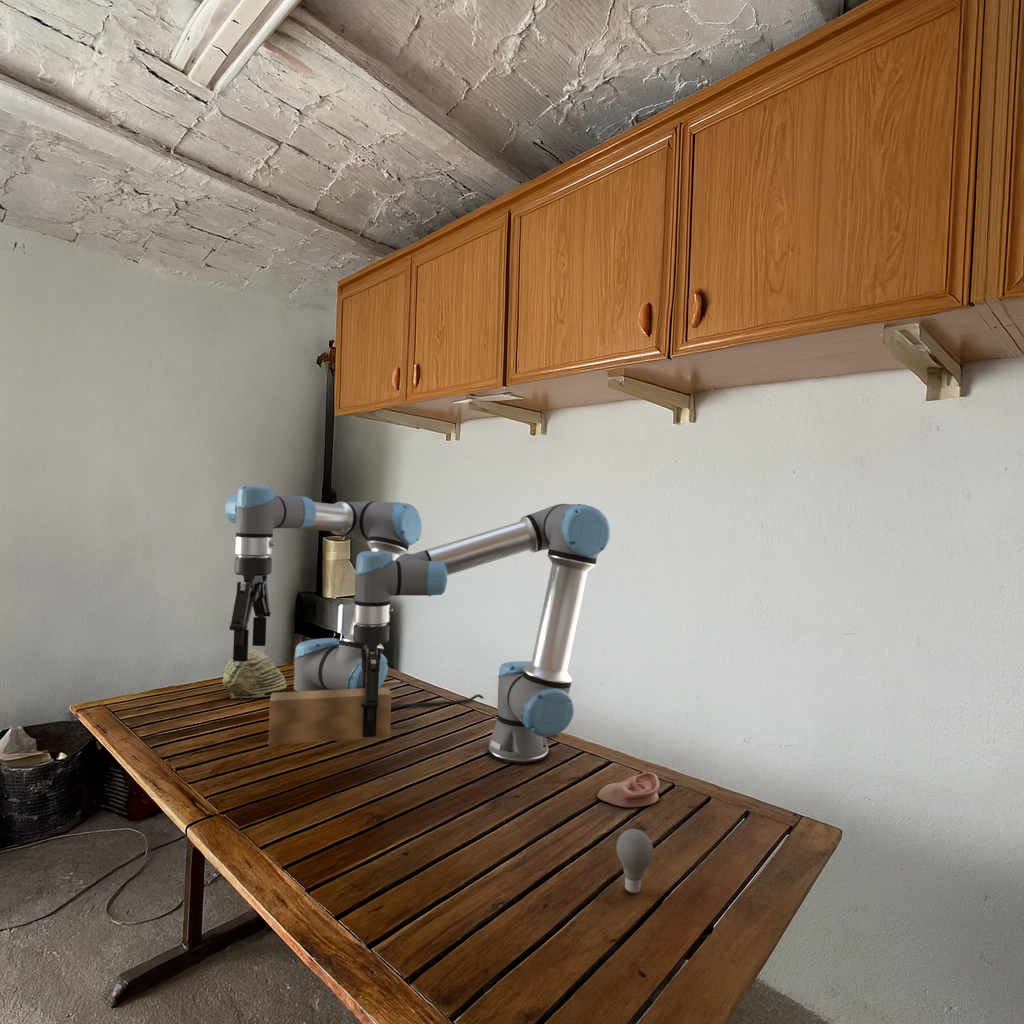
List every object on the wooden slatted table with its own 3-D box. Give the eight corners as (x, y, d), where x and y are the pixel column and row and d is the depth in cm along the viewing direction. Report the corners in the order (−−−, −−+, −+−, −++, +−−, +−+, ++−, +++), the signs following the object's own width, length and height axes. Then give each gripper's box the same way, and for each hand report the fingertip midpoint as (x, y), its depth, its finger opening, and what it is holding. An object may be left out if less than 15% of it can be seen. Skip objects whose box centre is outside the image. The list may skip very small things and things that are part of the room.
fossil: (218, 695, 195) (220, 647, 195) (278, 685, 208) (279, 640, 207) (228, 703, 189) (230, 653, 188) (289, 692, 201) (290, 645, 201)
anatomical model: (597, 785, 136) (600, 763, 147) (596, 803, 136) (599, 780, 147) (660, 793, 133) (659, 771, 144) (659, 812, 133) (658, 788, 144)
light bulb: (610, 879, 108) (613, 822, 108) (644, 879, 109) (647, 822, 109) (619, 902, 102) (622, 840, 102) (655, 901, 103) (658, 840, 103)
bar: (268, 745, 128) (269, 700, 128) (270, 736, 133) (271, 692, 133) (389, 737, 135) (391, 694, 135) (387, 728, 140) (388, 686, 140)
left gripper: (254, 562, 126) (250, 668, 127) (285, 551, 151) (282, 640, 152) (215, 561, 126) (211, 667, 126) (252, 550, 150) (249, 639, 151)
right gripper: (394, 632, 128) (390, 746, 128) (385, 615, 145) (381, 715, 146) (356, 633, 126) (352, 749, 126) (351, 615, 143) (348, 717, 144)
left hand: (250, 653), depth 139 cm, fingers open, 13 cm apart
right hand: (368, 731), depth 136 cm, fingers closed on bar, 5 cm apart
